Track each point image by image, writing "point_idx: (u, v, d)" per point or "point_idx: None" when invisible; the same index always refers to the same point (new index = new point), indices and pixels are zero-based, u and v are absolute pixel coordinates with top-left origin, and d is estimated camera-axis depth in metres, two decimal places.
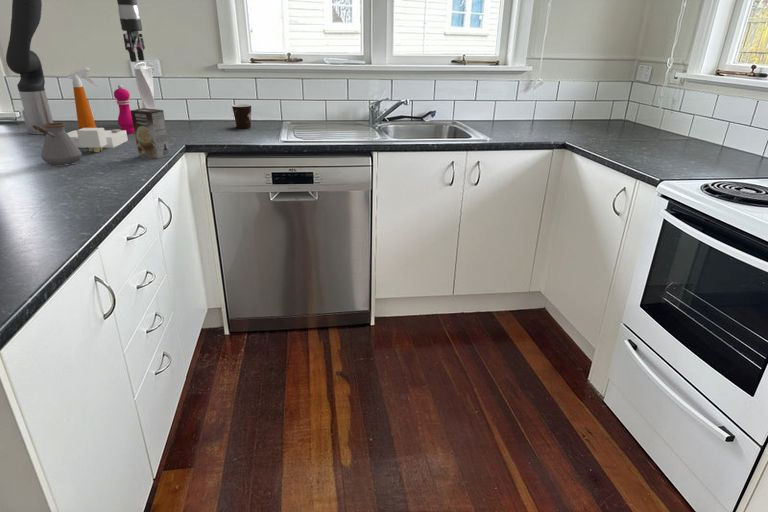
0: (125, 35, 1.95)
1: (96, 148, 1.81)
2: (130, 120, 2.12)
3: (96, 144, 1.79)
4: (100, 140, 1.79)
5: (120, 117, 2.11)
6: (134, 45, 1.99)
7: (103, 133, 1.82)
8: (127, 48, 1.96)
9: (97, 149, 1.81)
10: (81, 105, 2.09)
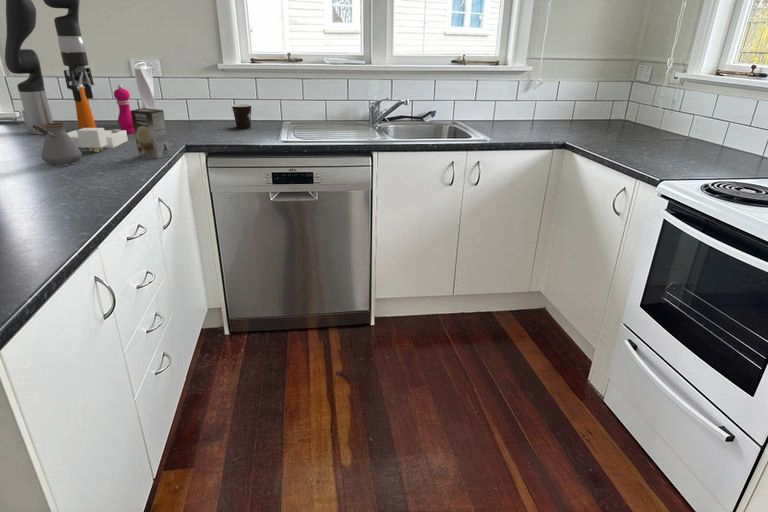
0: (66, 72, 1.65)
1: (96, 148, 1.81)
2: (130, 120, 2.12)
3: (96, 144, 1.79)
4: (100, 140, 1.79)
5: (120, 117, 2.11)
6: (78, 82, 1.69)
7: (103, 133, 1.82)
8: (69, 87, 1.67)
9: (97, 149, 1.81)
10: (81, 105, 2.09)
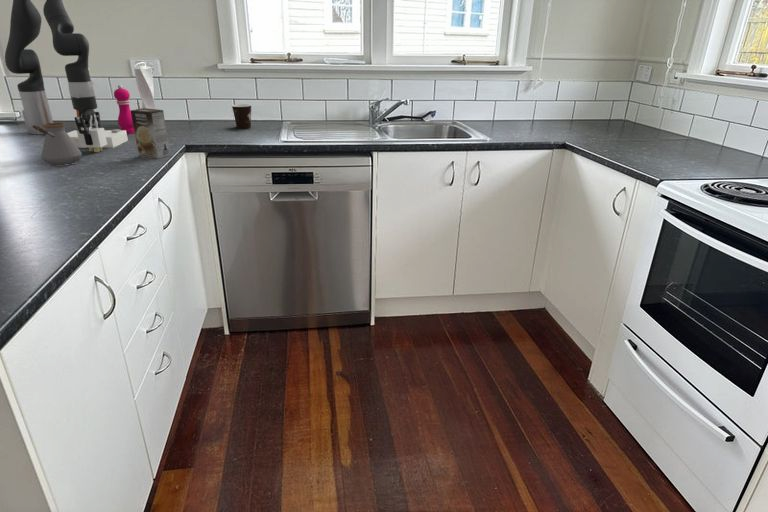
0: (77, 119, 1.71)
1: (96, 148, 1.81)
2: (130, 120, 2.12)
3: (96, 144, 1.79)
4: (100, 140, 1.79)
5: (120, 117, 2.11)
6: (89, 127, 1.76)
7: (103, 133, 1.82)
8: (81, 132, 1.74)
9: (97, 149, 1.81)
10: None
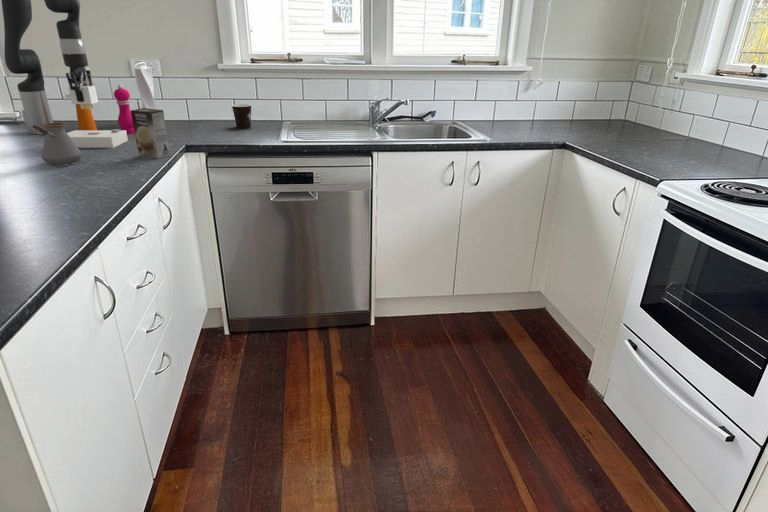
0: (68, 75, 1.77)
1: (87, 105, 1.87)
2: (130, 120, 2.12)
3: (87, 101, 1.85)
4: (91, 97, 1.85)
5: (120, 117, 2.11)
6: (80, 84, 1.82)
7: (94, 91, 1.88)
8: (72, 88, 1.80)
9: (88, 106, 1.87)
10: None
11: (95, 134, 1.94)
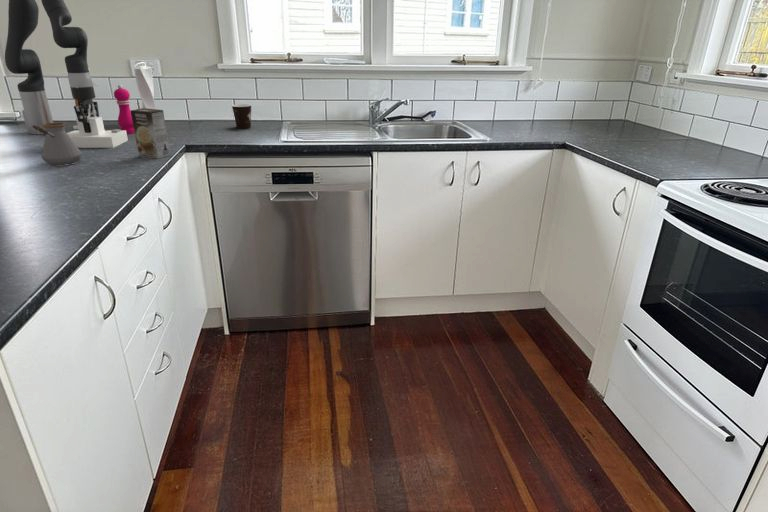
0: (76, 108, 1.82)
1: None
2: (130, 120, 2.12)
3: (94, 132, 1.90)
4: (98, 128, 1.90)
5: (120, 117, 2.11)
6: (87, 116, 1.86)
7: (101, 122, 1.92)
8: (80, 120, 1.85)
9: None
10: None
11: None
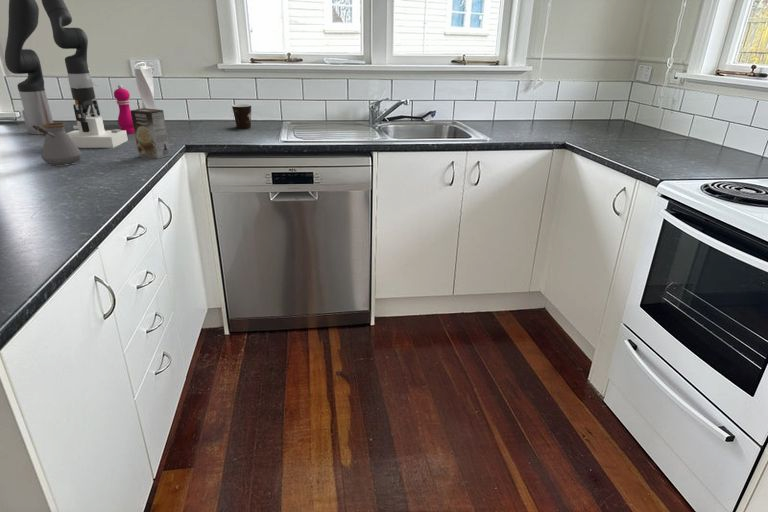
0: (75, 106, 1.82)
1: None
2: (130, 120, 2.12)
3: (94, 132, 1.90)
4: (98, 128, 1.90)
5: (120, 117, 2.11)
6: (86, 115, 1.86)
7: (101, 122, 1.92)
8: (78, 119, 1.83)
9: None
10: None
11: None
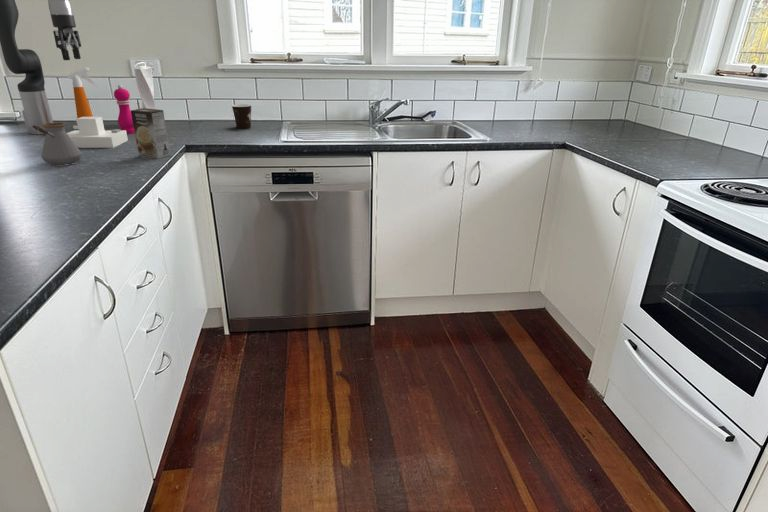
0: (55, 32, 1.83)
1: None
2: (130, 120, 2.12)
3: (94, 132, 1.90)
4: (98, 128, 1.90)
5: (120, 117, 2.11)
6: (66, 42, 1.88)
7: (101, 122, 1.92)
8: (58, 46, 1.85)
9: None
10: (81, 105, 2.09)
11: None
